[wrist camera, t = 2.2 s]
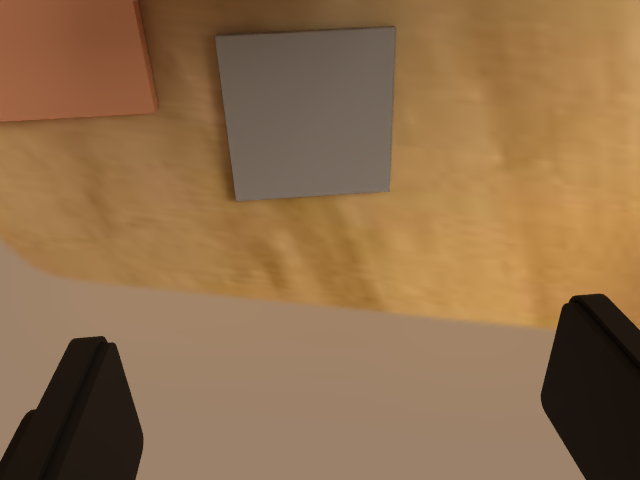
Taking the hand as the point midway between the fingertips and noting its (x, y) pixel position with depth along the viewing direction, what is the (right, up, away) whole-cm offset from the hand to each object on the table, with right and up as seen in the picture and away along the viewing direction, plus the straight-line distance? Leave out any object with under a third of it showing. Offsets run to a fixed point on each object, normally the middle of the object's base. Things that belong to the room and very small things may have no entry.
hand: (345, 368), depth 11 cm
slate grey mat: (-1, +9, +17) cm, 20 cm away
